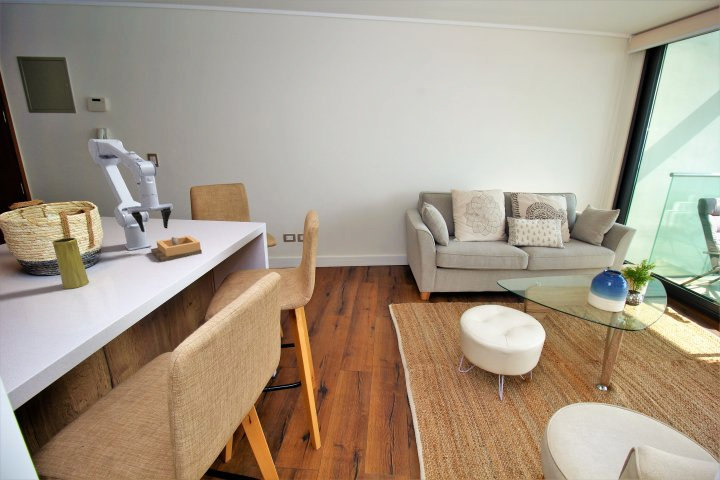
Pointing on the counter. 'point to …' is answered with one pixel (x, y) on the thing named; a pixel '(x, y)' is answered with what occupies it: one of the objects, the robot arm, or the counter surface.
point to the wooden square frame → (178, 246)
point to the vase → (70, 263)
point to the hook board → (167, 258)
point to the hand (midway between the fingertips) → (154, 229)
